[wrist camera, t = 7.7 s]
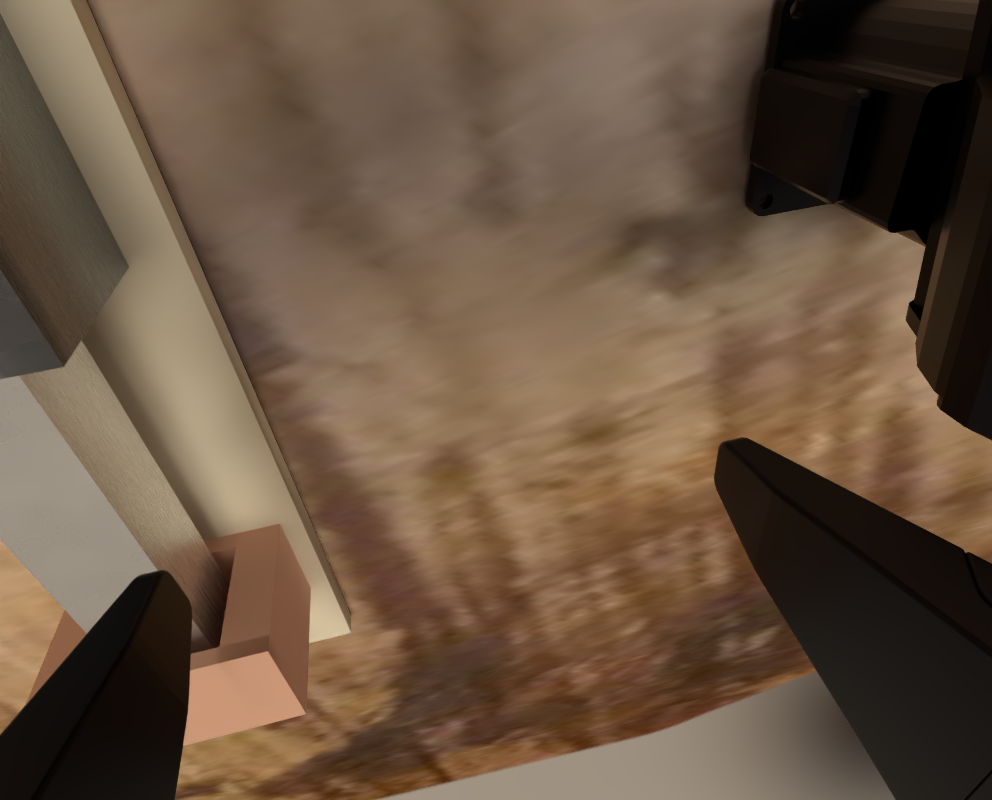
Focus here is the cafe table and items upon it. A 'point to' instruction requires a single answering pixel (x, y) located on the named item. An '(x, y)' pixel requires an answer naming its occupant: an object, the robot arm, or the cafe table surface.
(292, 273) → the cafe table surface
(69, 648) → the terracotta socket
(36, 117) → the grey sleeve
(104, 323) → the base board
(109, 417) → the silver rectangular bar
